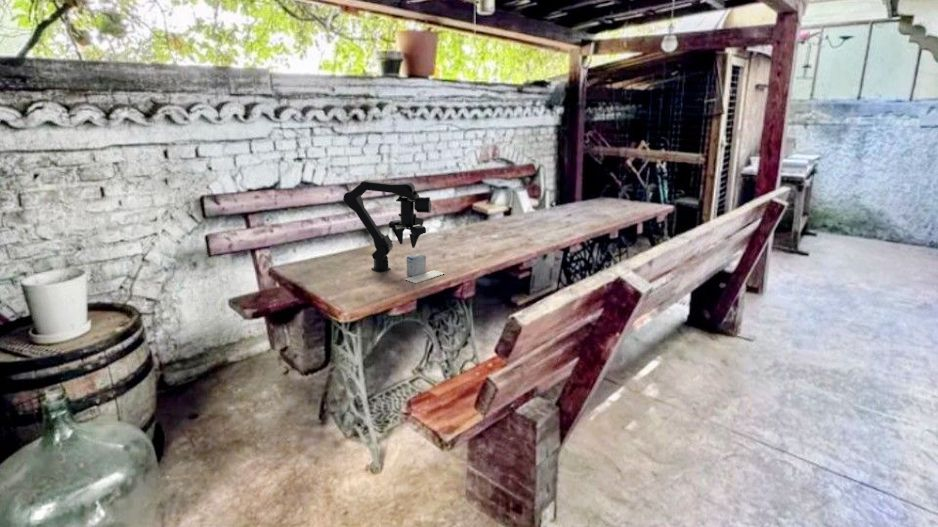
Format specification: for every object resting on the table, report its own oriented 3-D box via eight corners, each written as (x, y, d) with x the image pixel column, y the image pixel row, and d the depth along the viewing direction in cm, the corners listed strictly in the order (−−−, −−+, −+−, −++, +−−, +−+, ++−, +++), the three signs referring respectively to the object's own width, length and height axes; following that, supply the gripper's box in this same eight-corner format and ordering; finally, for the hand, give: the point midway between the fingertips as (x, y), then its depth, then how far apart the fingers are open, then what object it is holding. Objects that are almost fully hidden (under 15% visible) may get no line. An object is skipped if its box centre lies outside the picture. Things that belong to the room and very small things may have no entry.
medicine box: (418, 271, 233) (418, 253, 230) (426, 273, 230) (426, 255, 228) (406, 275, 227) (406, 256, 224) (413, 277, 224) (413, 258, 222)
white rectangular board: (404, 280, 221) (404, 279, 220) (434, 271, 234) (434, 270, 233) (415, 283, 217) (415, 282, 216) (444, 274, 229) (444, 273, 229)
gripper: (435, 212, 224) (434, 246, 229) (406, 206, 236) (406, 238, 240) (416, 216, 216) (416, 251, 221) (387, 209, 228) (388, 242, 232)
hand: (407, 245), depth 229 cm, fingers open, 8 cm apart
